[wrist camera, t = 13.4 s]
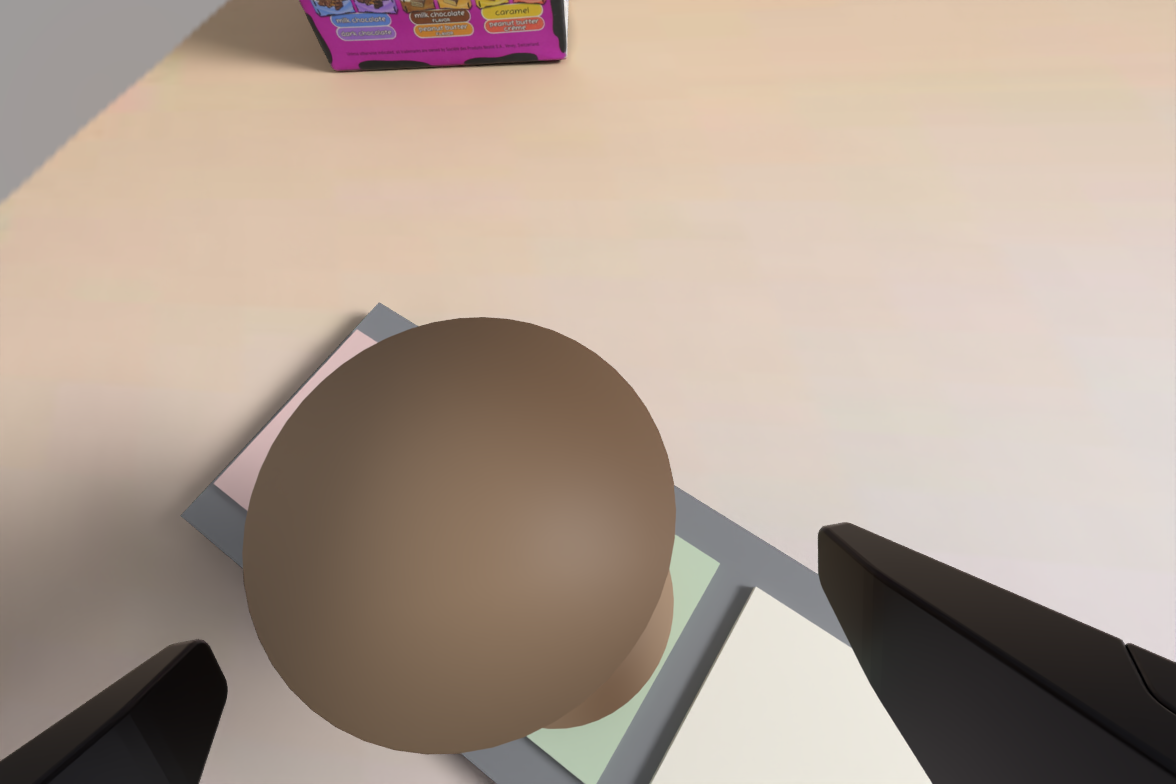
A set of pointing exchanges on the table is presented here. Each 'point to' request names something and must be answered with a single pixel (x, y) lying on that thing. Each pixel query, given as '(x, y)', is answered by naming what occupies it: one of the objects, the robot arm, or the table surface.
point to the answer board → (675, 656)
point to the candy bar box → (437, 32)
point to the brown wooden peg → (464, 539)
